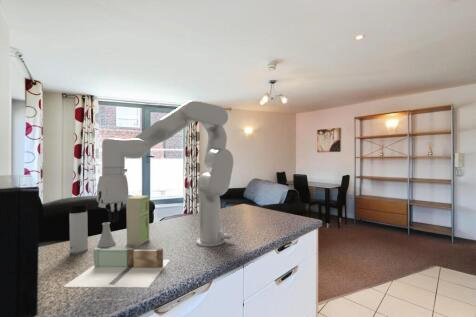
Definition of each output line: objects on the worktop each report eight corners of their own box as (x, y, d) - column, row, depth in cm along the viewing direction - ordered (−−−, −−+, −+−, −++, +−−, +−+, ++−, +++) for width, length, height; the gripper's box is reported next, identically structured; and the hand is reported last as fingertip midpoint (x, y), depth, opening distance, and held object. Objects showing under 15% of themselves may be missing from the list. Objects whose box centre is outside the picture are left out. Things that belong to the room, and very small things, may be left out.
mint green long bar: (128, 264, 88) (128, 247, 88) (126, 266, 87) (126, 249, 87) (96, 264, 89) (96, 247, 89) (93, 266, 87) (93, 249, 87)
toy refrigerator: (141, 245, 109) (140, 198, 109) (126, 245, 111) (125, 198, 111) (151, 240, 117) (150, 195, 117) (137, 239, 119) (136, 195, 119)
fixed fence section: (163, 265, 88) (162, 248, 88) (161, 267, 86) (161, 250, 86) (129, 265, 89) (129, 248, 89) (127, 267, 87) (127, 250, 87)
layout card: (170, 260, 93) (170, 259, 93) (148, 288, 73) (148, 287, 73) (102, 260, 94) (102, 259, 94) (62, 287, 74) (62, 286, 74)
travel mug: (68, 256, 99) (67, 206, 99) (71, 251, 105) (70, 203, 105) (87, 253, 102) (86, 204, 102) (88, 248, 107) (87, 202, 107)
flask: (101, 243, 114) (101, 221, 114) (118, 242, 115) (117, 220, 115) (94, 248, 107) (93, 225, 107) (111, 248, 107) (111, 225, 107)
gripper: (125, 171, 101) (125, 216, 100) (87, 172, 88) (87, 224, 88) (137, 171, 97) (137, 218, 97) (99, 173, 84) (99, 227, 84)
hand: (113, 221), depth 92 cm, fingers closed
